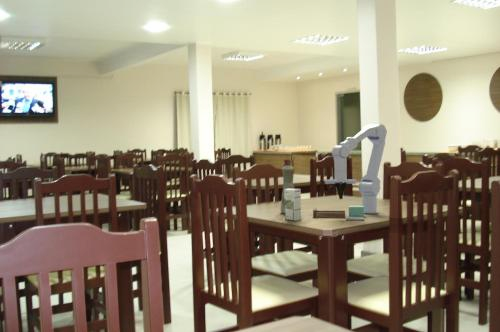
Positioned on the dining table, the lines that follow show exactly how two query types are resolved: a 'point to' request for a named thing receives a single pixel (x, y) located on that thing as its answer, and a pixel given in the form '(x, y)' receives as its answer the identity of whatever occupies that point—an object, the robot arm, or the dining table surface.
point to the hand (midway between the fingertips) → (340, 198)
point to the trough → (328, 214)
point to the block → (356, 211)
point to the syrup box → (292, 204)
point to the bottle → (287, 180)
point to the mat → (354, 218)
